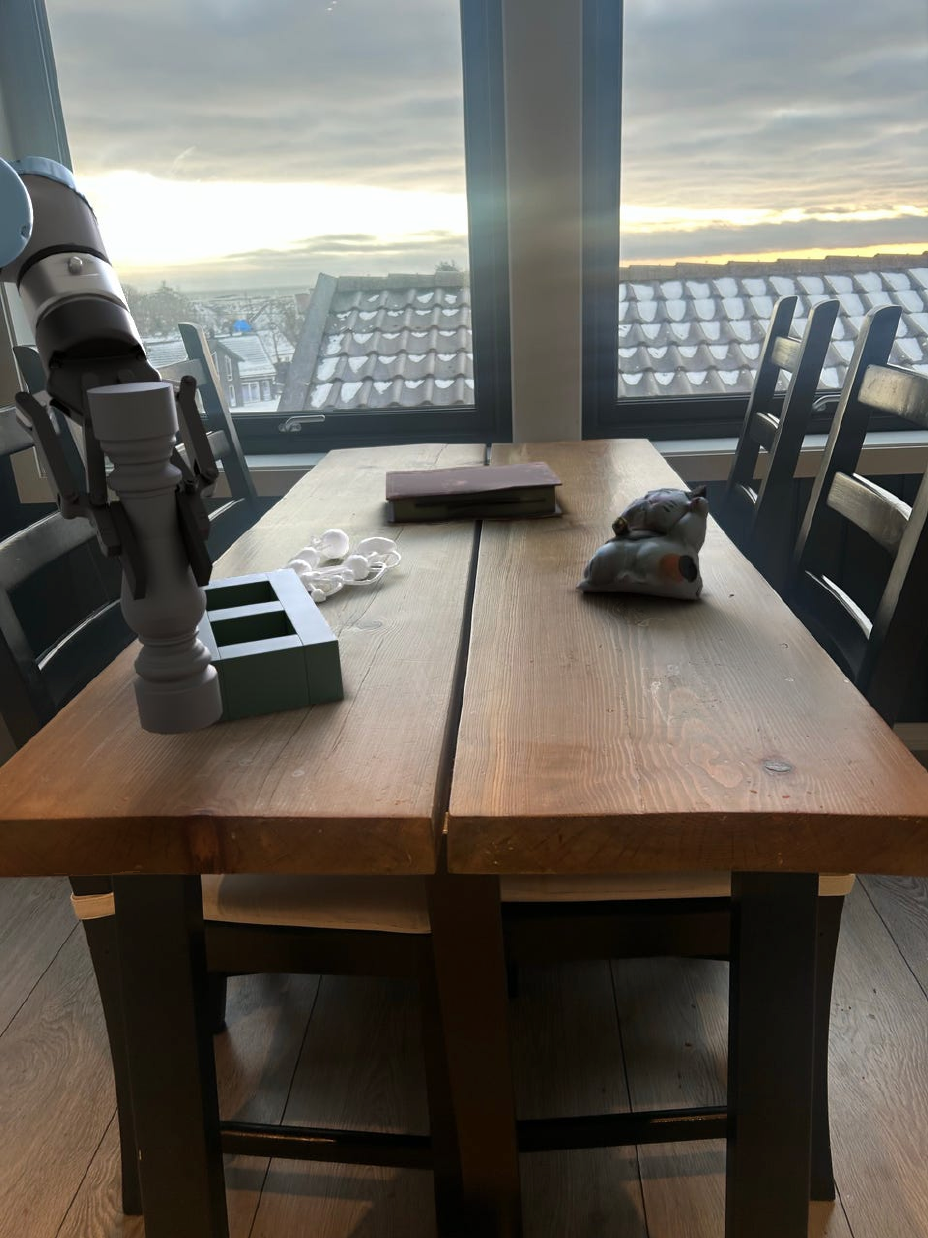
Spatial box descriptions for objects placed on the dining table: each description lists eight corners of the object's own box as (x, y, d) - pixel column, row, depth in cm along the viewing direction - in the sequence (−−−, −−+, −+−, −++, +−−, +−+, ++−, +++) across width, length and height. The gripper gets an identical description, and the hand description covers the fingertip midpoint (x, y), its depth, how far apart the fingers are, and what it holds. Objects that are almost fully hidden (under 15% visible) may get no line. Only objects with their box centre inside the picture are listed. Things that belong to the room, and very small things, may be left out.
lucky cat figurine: (557, 589, 113) (586, 470, 114) (648, 615, 117) (675, 500, 118) (622, 588, 99) (654, 453, 100) (723, 618, 103) (752, 488, 104)
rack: (194, 731, 84) (183, 665, 82) (176, 640, 104) (167, 586, 102) (344, 703, 88) (338, 639, 85) (299, 621, 108) (292, 568, 106)
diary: (388, 500, 158) (385, 468, 156) (545, 489, 159) (544, 458, 158) (388, 530, 141) (385, 495, 139) (564, 518, 142) (563, 483, 140)
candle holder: (234, 719, 76) (188, 386, 68) (154, 742, 73) (96, 396, 65) (206, 693, 81) (160, 379, 73) (130, 714, 78) (72, 388, 70)
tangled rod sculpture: (332, 627, 109) (330, 592, 107) (228, 602, 115) (224, 568, 113) (421, 570, 124) (420, 538, 123) (325, 550, 131) (323, 520, 129)
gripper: (-39, 300, 71) (45, 580, 63) (196, 287, 79) (297, 533, 71) (-31, 372, 77) (46, 634, 69) (186, 352, 85) (278, 586, 77)
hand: (173, 582), depth 70 cm, fingers closed on candle holder, 4 cm apart
